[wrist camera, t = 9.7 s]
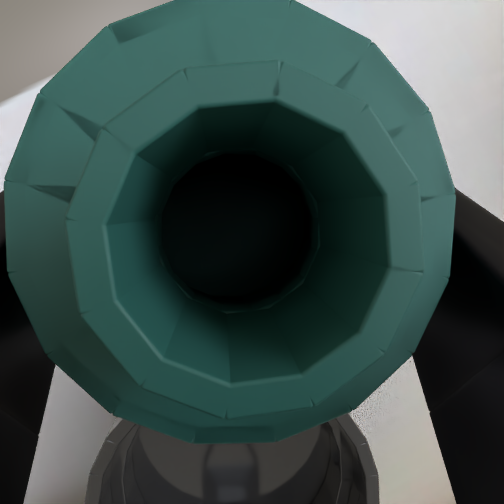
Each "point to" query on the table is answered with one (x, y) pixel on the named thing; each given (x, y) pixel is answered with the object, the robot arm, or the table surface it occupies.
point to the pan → (235, 468)
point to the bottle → (229, 219)
